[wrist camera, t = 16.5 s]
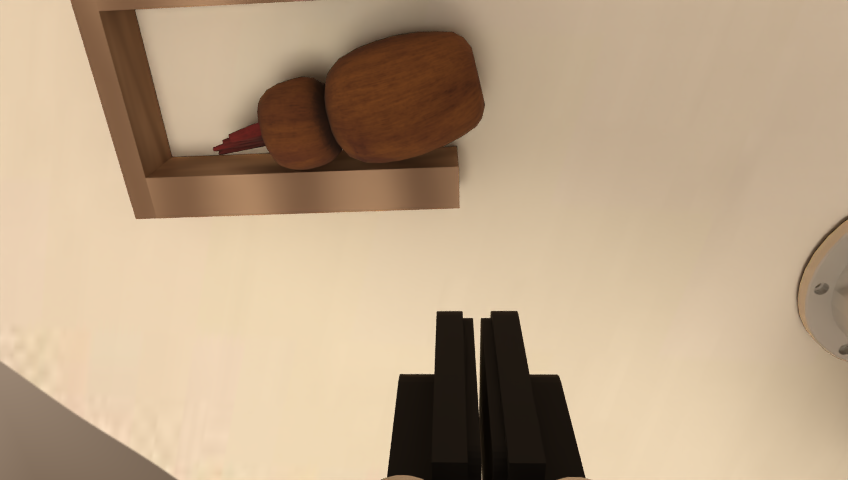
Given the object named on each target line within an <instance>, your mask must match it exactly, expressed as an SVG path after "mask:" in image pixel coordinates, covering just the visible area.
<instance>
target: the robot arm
mask: <svg viewBox="0 0 848 480" xmlns="http://www.w3.org/2000/svg"><path fill="white" fill-rule="evenodd" d="M798 307H799V315H800V318H801V320H802V322H803V325H804V327H805V329H806V330H807V331H808V333H809V334H810V335H811V336H812V338H813V339H814V340H815V341H816V342H817V343H818V344H819V345H820V346H821V347H822V348H823V349H824V350H825V351H827V352H828V353H830V354H832V355H833V356H835V357H837V358H839V359H842V360H845V361H848V220H846V221H845V222H843V223H842V224H841V225H840V226H839V227H838V228H837V229H836V230H835V231H834V232H832V233H831V234H830V235H829V236H828V237H827V238H826V239H825V241H824V242H823V243H822V244H821V246H820V247H819V248H818V249H817V251H816V252H815V253H814V255H813V256H812V258H811V260H810V262H809V263H808V265H807V267H806V269H805V271H804V274H803V277H802V280H801V283H800V286H799V294H798ZM481 464H482V465H481ZM481 479H482V480H590V479H586V478H585V474H584V470H583V466H582V462H581V458H580V454H579V451H578V447H577V443H576V439H575V435H574V431H573V427H572V423H571V419H570V415H569V411H568V408H567V404H566V400H565V396H564V392H563V388H562V384H561V381H560V378H559V376H558V375H529V369H528V364H527V358H526V353H525V348H524V342H523V337H522V332H521V326H520V321H519V316H518V312H517V311H491V317H490V318H481V335H480V398H479V409H478V393H477V376H476V360H475V344H474V328H473V318H463V312H462V311H437V319H436V346H435V374H400V376H399V381H398V390H397V398H396V407H395V415H394V423H393V432H392V440H391V449H390V457H389V466H388V474H387V478H384V479H381V480H481Z"/></svg>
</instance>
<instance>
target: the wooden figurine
mask: <svg viewBox="0 0 848 480" xmlns="http://www.w3.org/2000/svg"><path fill="white" fill-rule="evenodd" d="M484 107H485V103H484V99H483V94H482V90H481V85H480V81H479V77H478V73H477V68H476V64H475V60H474V56H473V52H472V48H471V46H470V45H469V44H468V43H467V41H466V40H465V39H464V38H463V37H461V36H459V35H457V34H456V33H454V32H440V31H431V32H414V33H408V34H401V35H396V36H392V37H388V38H385V39H381V40H378V41H375V42H372V43H369V44H367V45H364V46H362V47H359V48H357V49H355V50H353V51H351V52H350V53H348V54H346V55H345V56H343V57H341V58H339V59H338V61H337V62H336V63H335V64H334V66H333V67H332V68H331V69H330V71H329V72H328V74H327V77H326V84H323V83H322V82H320V81H318V80H316V79H314V78H310V77H299V78H295V79H291V80H287V81H284V82H281V83H278V84H276V85H275V86H273V87H271V88H270V89H268V90H266V92H265V93H264V94H263V96H262V97H261V98H260V101H259V103H258V111H257V112H258V123H255V124H253V125H250V126H248V127H245V128H243V129H240V130H238V131H236V132H233V133H231V134H229V138H227V139H224V140H222V141H223V144H221V145H218V146H216V147H213V150H214V151H219V155H223V154H228V153H233V152H238V151H243V150H248V149H253V148H258V147H263V146H266V147H267V149H268V151H269V152H270V154H271V156H272V157H273V159H274V160H275V161H276V162H277V163H278V164H279V165H280V166H283V167H286V168H290V169H294V170H306V169H311V168H316V167H319V166H322V165H326V164H328V163H330V162H331V161H332V160H334V159H335V158H336V157H337V156H338V155H339V154H340V152H341V150H342V149H343V150H344V151H345V152H346V153H347V154H348V155H349V156H350V157H352V158H355V159H357V160H360V161H363V162H368V163H386V162H393V161H399V160H404V159H408V158H412V157H416V156H419V155H423V154H425V153H428V152H430V151H433V150H435V149H438V148H440V147H442V146H445V145H447V144H449V143H450V142H452V141H454V140H456V139H458V138H460V137H462V136H463V135H465V134H466V133H468V132H469V131H470V130H472V129H473V128H475V127H476V126H477V124H478V123H479V122H480V120H481V119H482V116H483V111H484Z"/></svg>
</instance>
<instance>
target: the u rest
mask: <svg viewBox="0 0 848 480" xmlns="http://www.w3.org/2000/svg"><path fill="white" fill-rule="evenodd" d="M293 1H313V0H71V3H72V7H73V10H74V13H75V17H76V20H77V23H78V27H79V30H80V34H81V37H82V40H83V44H84V47H85V50H86V54H87V57H88V60H89V64H90V67H91V70H92V74H93V77H94V80H95V84H96V87H97V90H98V94H99V97H100V100H101V104H102V107H103V110H104V114H105V117H106V120H107V124H108V127H109V131H110V134H111V137H112V141H113V144H114V147H115V151H116V154H117V157H118V161H119V164H120V167H121V171H122V174H123V177H124V181H125V184H126V187H127V191H128V194H129V197H130V201H131V204H132V207H133V211H134V214H135V217H136V219H149V218H179V217H209V216H239V215H269V214H299V213H329V212H359V211H389V210H419V209H449V208H459V166H458V153H457V146H451V147H440V148H438V149H435V150H433V151H430V152H428V153H425V154H423V155H419V156H416V157H412V158H408V159H404V160H399V161H393V162H386V163H368V162H363V161H360V160H357V159H355V158H352V157H350V156H349V155H348V154H347V153H346V152H345V151H341V152H340V154H339V155H338V156H337V157H336V158H335V159H334V160H332V161H331V162H330V163H328V164H326V165H322V166H319V167H316V168H311V169H306V170H294V169H290V168H286V167H283V166H280V165H279V164H278V163H277V162H276V161H275V160H274V159H273V157H272V156H271V154H270V153H268V154H241V155H215V156H189V157H172V155H171V151H170V147H169V144H168V140H167V136H166V132H165V128H164V124H163V120H162V116H161V112H160V108H159V104H158V100H157V96H156V92H155V89H154V85H153V81H152V77H151V73H150V69H149V65H148V61H147V57H146V53H145V49H144V45H143V41H142V37H141V34H140V30H139V26H138V22H137V18H136V14H135V10H134V9H152V8H172V7H192V6H212V5H232V4H252V3H273V2H293Z"/></svg>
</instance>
